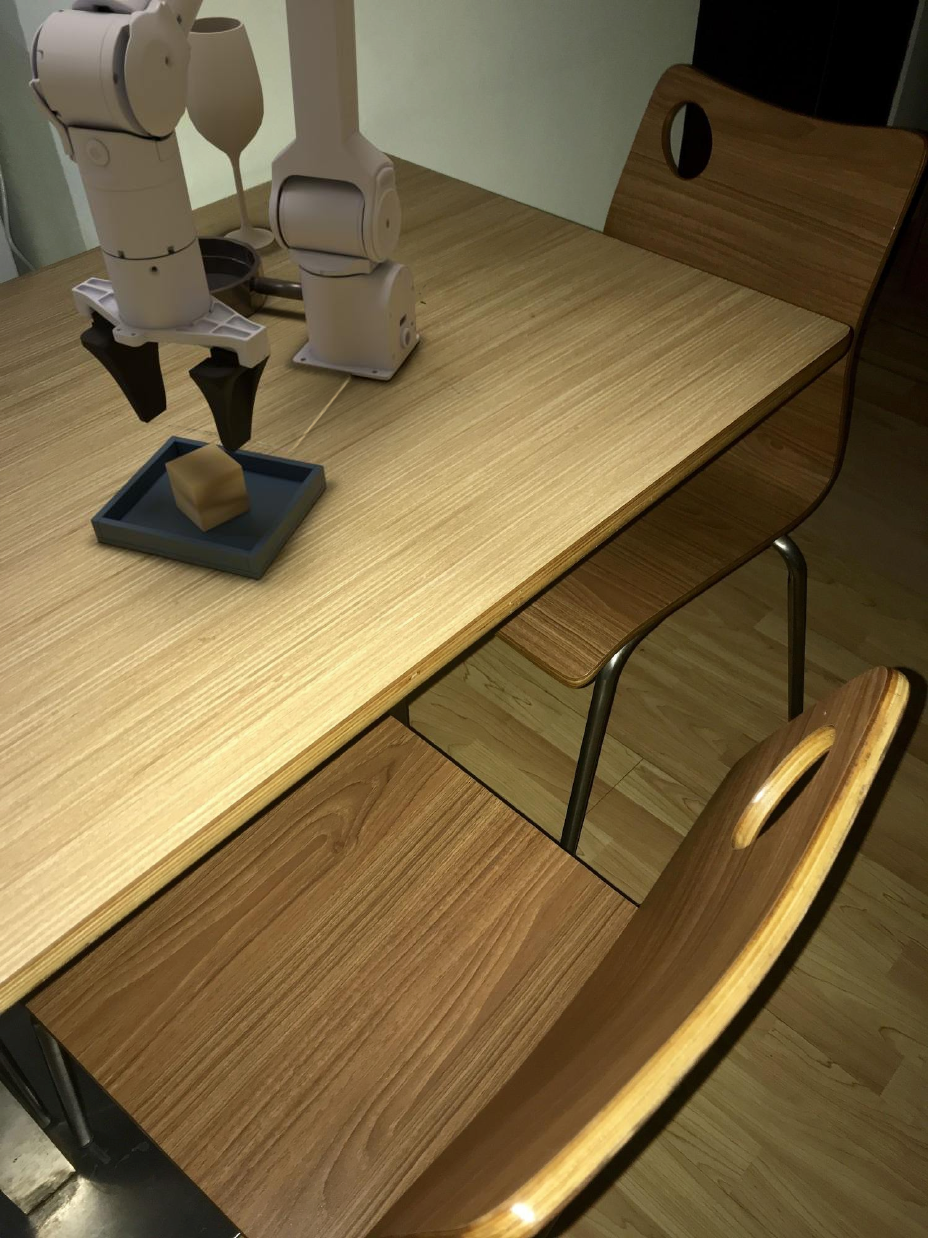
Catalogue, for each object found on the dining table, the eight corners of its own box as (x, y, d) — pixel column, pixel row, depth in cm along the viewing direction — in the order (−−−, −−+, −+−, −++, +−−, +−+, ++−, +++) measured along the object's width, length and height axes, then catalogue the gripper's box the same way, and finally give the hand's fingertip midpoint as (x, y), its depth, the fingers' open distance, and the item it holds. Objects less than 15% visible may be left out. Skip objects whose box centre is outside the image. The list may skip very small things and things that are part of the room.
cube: (223, 485, 76) (213, 441, 73) (250, 509, 74) (241, 465, 71) (176, 507, 74) (164, 463, 71) (204, 532, 72) (192, 488, 69)
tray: (326, 486, 77) (323, 465, 75) (259, 579, 69) (254, 557, 68) (177, 455, 80) (172, 434, 78) (97, 541, 72) (89, 519, 71)
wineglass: (298, 237, 109) (269, 20, 94) (252, 264, 104) (214, 40, 90) (245, 222, 112) (209, 9, 97) (198, 248, 107) (153, 28, 93)
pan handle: (333, 299, 94) (331, 283, 93) (326, 307, 93) (324, 291, 92) (257, 288, 96) (255, 272, 95) (250, 295, 95) (247, 279, 94)
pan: (289, 283, 101) (284, 245, 98) (226, 346, 92) (218, 305, 89) (176, 266, 104) (168, 228, 101) (105, 325, 95) (93, 285, 93)
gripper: (12, 240, 60) (77, 430, 70) (199, 292, 55) (241, 489, 64) (96, 198, 64) (146, 382, 74) (276, 243, 59) (305, 435, 69)
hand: (195, 429), depth 69 cm, fingers open, 7 cm apart
